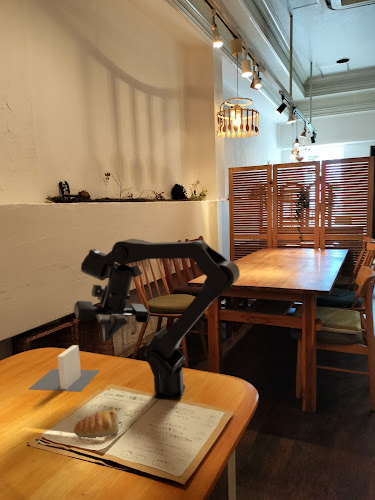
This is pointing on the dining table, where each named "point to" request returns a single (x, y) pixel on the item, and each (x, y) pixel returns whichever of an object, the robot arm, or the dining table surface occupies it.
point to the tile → (69, 366)
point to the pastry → (98, 425)
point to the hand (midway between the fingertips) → (105, 340)
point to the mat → (53, 381)
